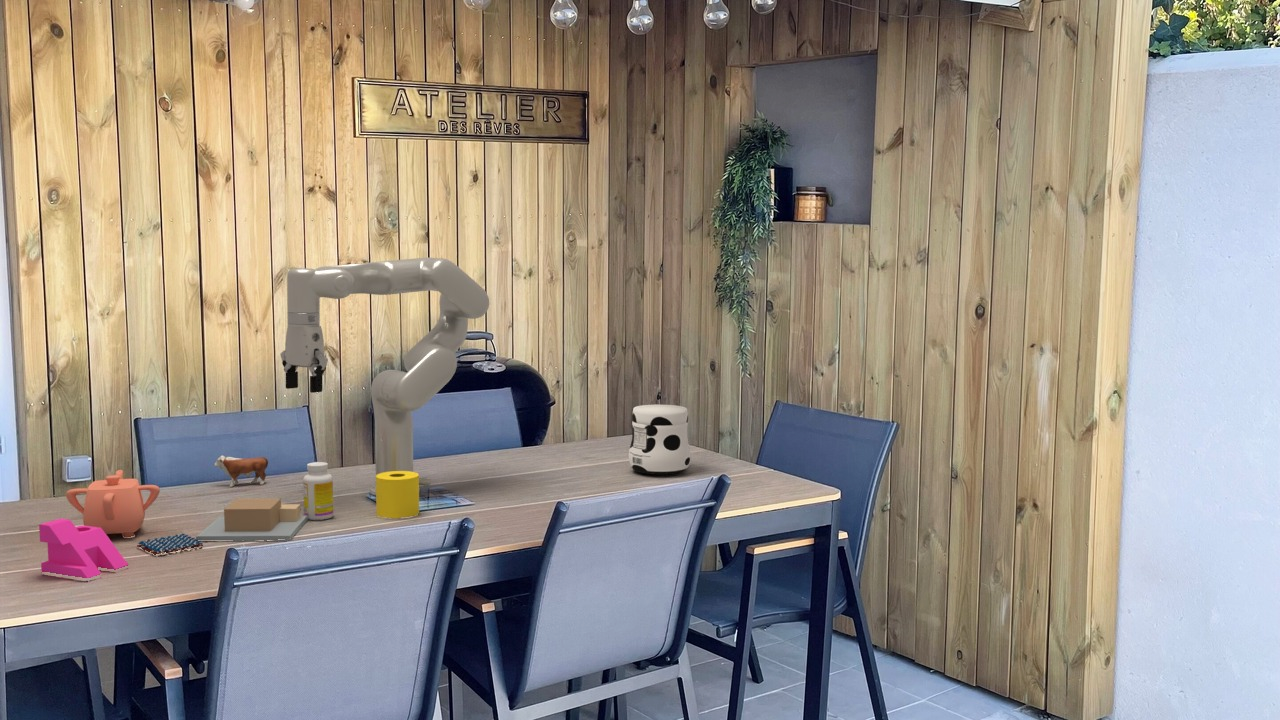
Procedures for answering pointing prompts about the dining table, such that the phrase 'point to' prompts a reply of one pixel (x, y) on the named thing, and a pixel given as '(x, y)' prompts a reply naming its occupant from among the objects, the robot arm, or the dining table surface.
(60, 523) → the bracket
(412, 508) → the yellow toilet paper roll
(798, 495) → the dining table surface
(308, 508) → the supplement bottle
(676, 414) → the milk container
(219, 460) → the bull figurine
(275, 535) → the board
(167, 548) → the woven mat
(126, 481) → the teapot
